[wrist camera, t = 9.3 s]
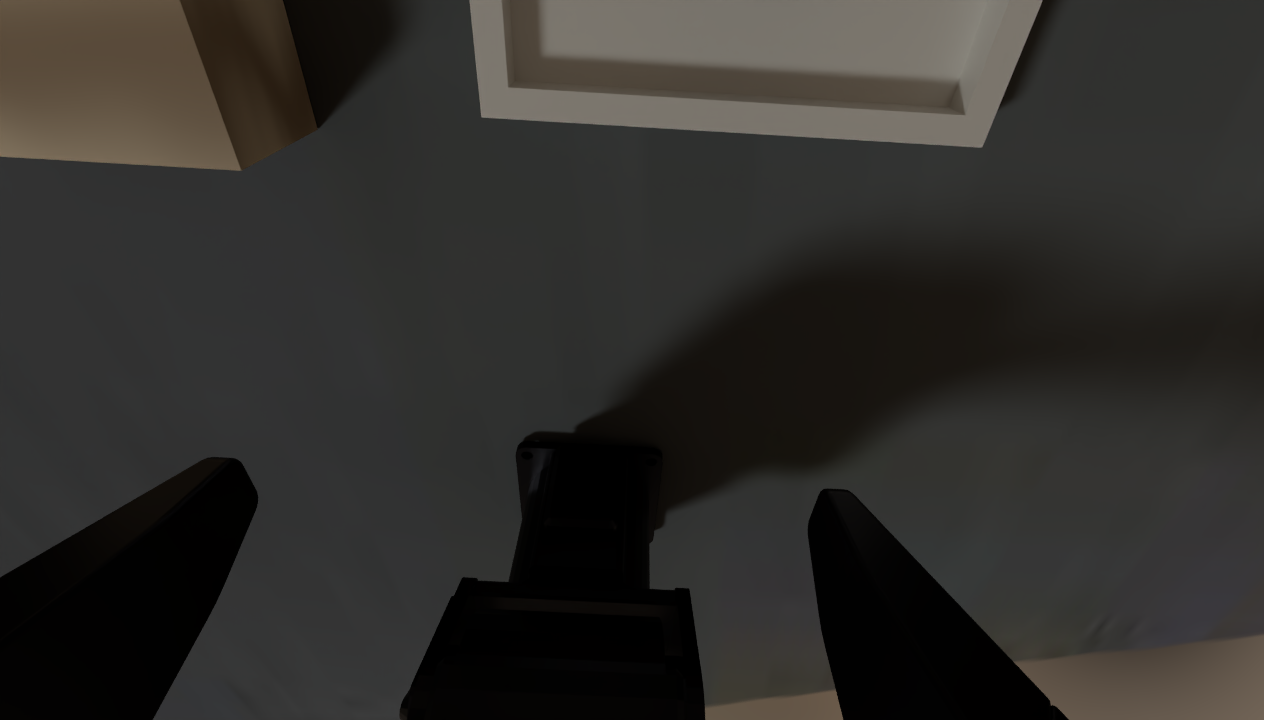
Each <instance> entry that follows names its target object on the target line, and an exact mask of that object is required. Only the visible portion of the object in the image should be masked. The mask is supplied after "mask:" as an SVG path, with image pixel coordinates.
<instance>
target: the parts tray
mask: <svg viewBox="0 0 1264 720" xmlns="http://www.w3.org/2000/svg"><path fill="white" fill-rule="evenodd" d="M1042 1H1043V0H470V9H471V19H472V29H473V39H474V49H475V58H476V68H477V78H478V88H479V98H480V107H481V117H483V118H500V119H517V120H533V121H550V122H566V123H583V124H600V125H616V126H633V127H649V128H666V129H683V130H699V131H716V132H732V133H749V134H766V135H782V136H799V137H815V138H832V139H849V140H865V141H882V142H899V143H915V144H932V145H948V146H965V147H982V146H983V144H984V142H985V139H986V137H987V134H988V132H989V130H990V127H991V125H992V122H993V120H994V117H995V115H996V113H997V110H998V108H999V105H1000V103H1001V100H1002V98H1003V96H1004V93H1005V91H1006V88H1007V86H1008V83H1009V81H1010V79H1011V76H1012V74H1013V71H1014V69H1015V66H1016V64H1017V62H1018V59H1019V57H1020V54H1021V52H1022V49H1023V47H1024V45H1025V42H1026V40H1027V37H1028V35H1029V32H1030V30H1031V28H1032V25H1033V23H1034V20H1035V18H1036V15H1037V13H1038V11H1039V8H1040V6H1041V3H1042Z"/></svg>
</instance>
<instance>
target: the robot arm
mask: <svg viewBox="0 0 1264 720" xmlns="http://www.w3.org/2000/svg"><path fill="white" fill-rule="evenodd" d="M526 452H530V453H526ZM649 458H654V459H652V460H650V459H649ZM516 463H517V473H518V482H519V492H520V502H521V512H522V523H521V527H520V532H519V536H518V541H517V545H516V550H515V554H514V559H513V564H512V568H511V573H510V577H509V582H496V581H478V579H477V578H465V577H463V578H462V579H461V582H460V584H459V586H458V588H457V590H456V593H455V595H454V596H452V597H451V598H450V601H449V603H448V605H447V607H446V609H445V612H444V614H443V616H442V618H441V620H440V623H439V625H438V627H437V629H436V631H435V634H434V636H433V638H432V640H431V642H430V645H429V647H428V649H427V651H426V653H425V656H424V658H423V660H422V662H421V664H420V667H419V669H418V671H417V673H416V675H415V678H414V680H413V682H412V685H411V688H410V690H409V691H408V693H407V694H406V696H405V697H404V699H403V701H402V704H401V708H400V719H401V720H705V703H704V690H703V681H702V673H701V666H700V659H699V652H698V646H697V639H696V632H695V625H694V618H693V611H692V604H691V597H690V590H689V588H675V590H659V589H650V574H649V543H651V542H652V541H653V537H654V529H655V521H656V512H657V504H658V496H659V488H660V479H661V471H662V463H663V462H662V453H661V451H660V450H658V449H656V448H650V447H630V446H611V445H592V444H573V443H554V442H535V441H524V442H521V443H520V444H519V445H518V447H517V451H516ZM257 504H258V494H257V491H256V489H255V487H254V485H253V483H252V481H251V479H250V477H249V475H248V474H247V472H246V470H245V468H244V466H243V464H242V463H241V462H240V461H239V460H237V459H235V458H222V457H210V458H206V459H204V460H202V461H200V462H198V463H196V464H195V465H193V466H191V467H189V468H188V469H186V470H184V471H182V472H181V473H179V474H177V475H176V476H174V477H172V478H170V479H169V480H167V481H165V482H164V483H162V484H160V485H158V486H157V487H155V488H153V489H152V490H150V491H148V492H146V493H145V494H143V495H141V496H139V497H138V498H136V499H134V500H133V501H131V502H129V503H127V504H126V505H124V506H122V507H121V508H119V509H117V510H115V511H114V512H112V513H110V514H109V515H107V516H105V517H103V518H102V519H100V520H98V521H96V522H95V523H93V524H91V525H90V526H88V527H86V528H84V529H83V530H81V531H79V532H78V533H76V534H74V535H72V536H71V537H69V538H67V539H66V540H64V541H62V542H60V543H59V544H57V545H55V546H53V547H52V548H50V549H48V550H47V551H45V552H43V553H41V554H40V555H38V556H36V557H35V558H33V559H31V560H29V561H28V562H26V563H24V564H22V565H21V566H19V567H17V568H16V569H14V570H12V571H10V572H9V573H7V574H5V575H4V576H2V577H0V720H153V718H154V716H155V715H156V713H157V711H158V709H159V707H160V705H161V704H162V702H163V700H164V698H165V696H166V694H167V693H168V691H169V689H170V687H171V685H172V683H173V682H174V680H175V678H176V676H177V674H178V672H179V671H180V669H181V667H182V665H183V663H184V661H185V660H186V658H187V656H188V654H189V652H190V650H191V649H192V647H193V645H194V643H195V641H196V639H197V638H198V636H199V634H200V632H201V630H202V628H203V627H204V625H205V623H206V621H207V619H208V617H209V615H210V614H211V612H212V610H213V608H214V606H215V604H216V602H217V600H218V597H219V595H220V593H221V591H222V589H223V587H224V584H225V582H226V580H227V577H228V575H229V573H230V570H231V568H232V565H233V563H234V561H235V558H236V556H237V554H238V551H239V549H240V546H241V544H242V542H243V539H244V537H245V535H246V532H247V530H248V527H249V525H250V523H251V520H252V518H253V516H254V513H255V511H256V508H257ZM808 539H809V547H810V554H811V561H812V568H813V576H814V583H815V590H816V597H817V604H818V612H819V618H820V624H821V631H822V635H823V640H824V644H825V648H826V652H827V656H828V660H829V664H830V668H831V672H832V676H833V680H834V684H835V688H836V692H837V696H838V700H839V704H840V708H841V712H842V716H843V720H1069V719H1068V718H1067V717H1066V716H1065V715H1064V714H1063V713H1062V712H1061V711H1060V710H1059V709H1058V708H1057V707H1055V706H1053V705H1052V706H1051V704H1050V700H1049V699H1048V698H1047V697H1046V696H1045V695H1044V693H1043V692H1041V690H1040V689H1039V688H1038V687H1037V686H1036V685H1035V684H1034V683H1033V682H1032V681H1031V680H1030V679H1029V678H1028V677H1027V676H1026V675H1025V674H1024V673H1023V672H1022V670H1021V669H1020V668H1019V667H1018V666H1017V665H1016V664H1015V663H1014V662H1013V661H1012V660H1011V659H1010V658H1009V657H1008V656H1007V655H1006V654H1005V653H1004V652H1003V650H1002V649H1001V648H1000V647H999V646H998V645H997V644H996V643H995V642H994V641H993V640H992V639H991V638H990V637H989V636H988V635H987V634H986V633H985V632H984V631H983V629H982V628H981V627H980V626H979V625H978V624H977V623H976V622H975V621H974V620H973V619H972V618H971V617H970V616H969V615H968V614H967V613H966V612H965V611H964V610H963V608H962V607H961V606H960V605H959V604H958V603H957V602H956V601H955V600H954V599H953V598H952V597H951V596H950V595H949V594H948V593H947V592H946V591H945V590H944V589H943V587H942V586H941V585H940V584H939V583H938V582H937V581H936V580H935V579H934V578H933V577H932V576H931V575H930V574H929V573H928V572H927V571H926V570H925V569H924V568H923V567H922V565H921V564H920V563H919V562H918V561H917V560H916V559H915V558H914V557H913V556H912V555H911V554H910V553H909V552H908V551H907V550H906V549H905V548H904V547H903V546H902V544H901V543H900V542H899V541H898V540H897V539H896V538H895V537H894V536H893V535H892V534H891V533H890V532H889V531H888V530H887V529H886V528H885V527H884V526H883V525H882V523H881V522H880V521H879V520H878V519H877V518H876V517H875V516H874V515H873V514H872V513H871V512H870V511H869V510H868V509H867V508H866V507H865V506H864V505H863V504H862V502H861V501H860V500H859V499H858V498H857V497H856V496H855V495H854V494H853V493H851V492H850V491H848V490H844V489H823V490H822V491H821V492H820V494H819V496H818V498H817V501H816V503H815V506H814V509H813V511H812V514H811V517H810V519H809V523H808Z"/></svg>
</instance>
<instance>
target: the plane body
mask: <svg viewBox="0 0 1264 720" xmlns="http://www.w3.org/2000/svg"><path fill="white" fill-rule="evenodd" d="M316 130H318V129H317V125H316V121H315V117H314V114H313V110H312V106H311V103H310V99H309V95H308V92H307V88H306V84H305V80H304V77H303V73H302V69H301V66H300V62H299V58H298V54H297V51H296V47H295V43H294V40H293V36H292V32H291V28H290V25H289V21H288V17H287V14H286V10H285V6H284V2H283V0H0V156H1V157H18V158H35V159H52V160H69V161H86V162H103V163H120V164H137V165H154V166H171V167H188V168H205V169H222V170H240V171H242V170H243V169H245V168H247V167H249V166H251V165H253V164H255V163H256V162H258V161H260V160H262V159H264V158H266V157H268V156H269V155H271V154H273V153H275V152H277V151H279V150H281V149H282V148H284V147H286V146H288V145H290V144H292V143H294V142H295V141H297V140H299V139H301V138H303V137H305V136H307V135H308V134H310V133H312V132H314V131H316Z"/></svg>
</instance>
